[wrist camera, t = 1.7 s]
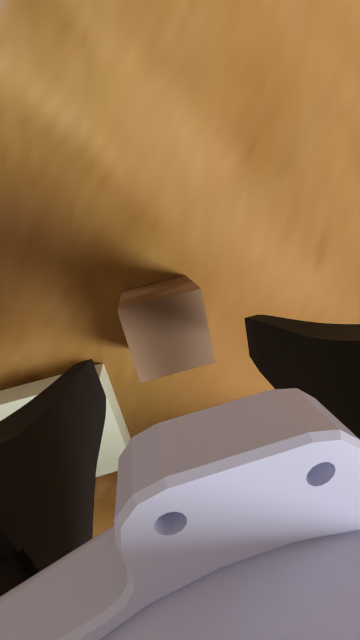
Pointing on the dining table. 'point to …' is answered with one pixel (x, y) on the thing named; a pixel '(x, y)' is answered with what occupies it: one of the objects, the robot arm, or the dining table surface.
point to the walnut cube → (166, 328)
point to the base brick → (114, 425)
